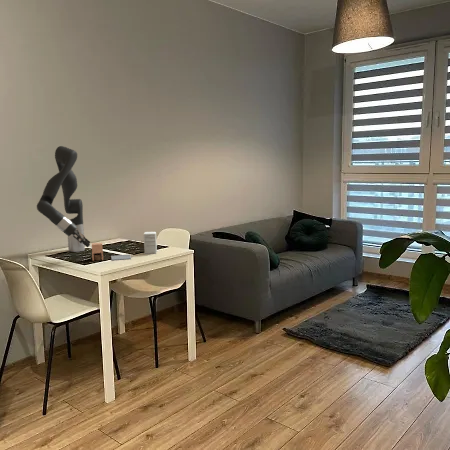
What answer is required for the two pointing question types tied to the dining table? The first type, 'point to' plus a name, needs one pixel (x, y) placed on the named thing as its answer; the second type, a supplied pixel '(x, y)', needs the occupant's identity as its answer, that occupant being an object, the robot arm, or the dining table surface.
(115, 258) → the grey mat
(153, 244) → the supplement box
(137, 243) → the dining table surface
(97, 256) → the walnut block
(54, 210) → the robot arm
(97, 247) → the terracotta cover
